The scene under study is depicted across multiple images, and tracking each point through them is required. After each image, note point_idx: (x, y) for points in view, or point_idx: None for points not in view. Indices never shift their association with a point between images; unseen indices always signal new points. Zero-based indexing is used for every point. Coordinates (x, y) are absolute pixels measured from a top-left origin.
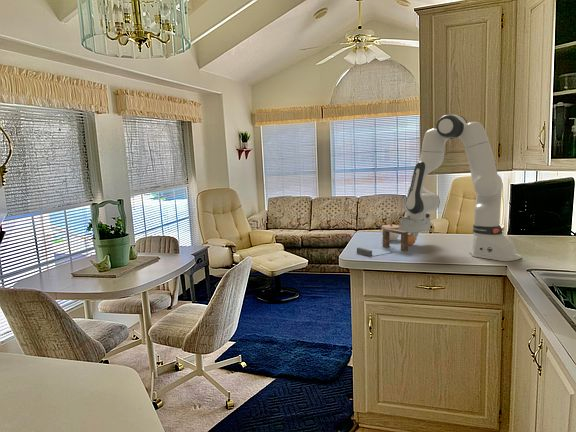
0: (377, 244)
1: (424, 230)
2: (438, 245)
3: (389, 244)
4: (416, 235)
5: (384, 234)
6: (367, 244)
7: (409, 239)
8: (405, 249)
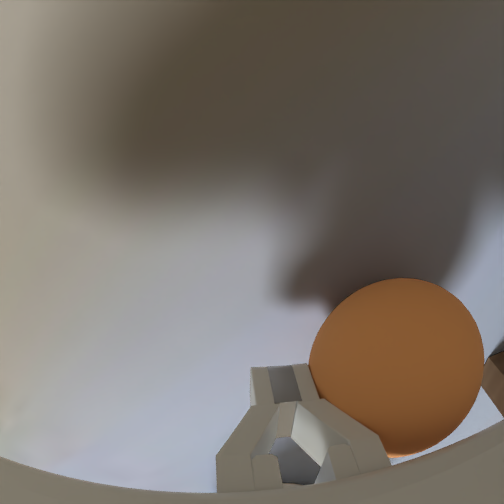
0: (463, 420)
1: (38, 483)
2: (21, 86)
3: (495, 367)
4: (264, 434)
5: None
6: (481, 427)
7: (476, 327)
8: None
